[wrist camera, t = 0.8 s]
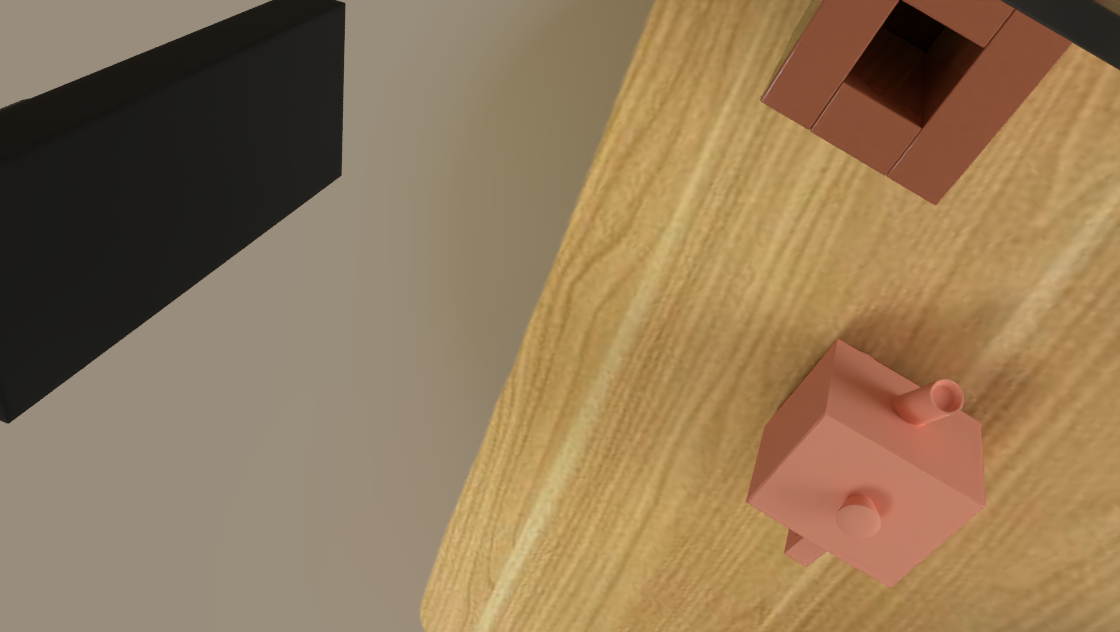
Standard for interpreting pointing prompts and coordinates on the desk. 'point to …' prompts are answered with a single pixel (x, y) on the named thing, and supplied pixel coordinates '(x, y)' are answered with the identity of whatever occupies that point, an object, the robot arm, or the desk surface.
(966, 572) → the desk surface
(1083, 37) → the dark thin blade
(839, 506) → the pink cube teapot
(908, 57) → the holder
